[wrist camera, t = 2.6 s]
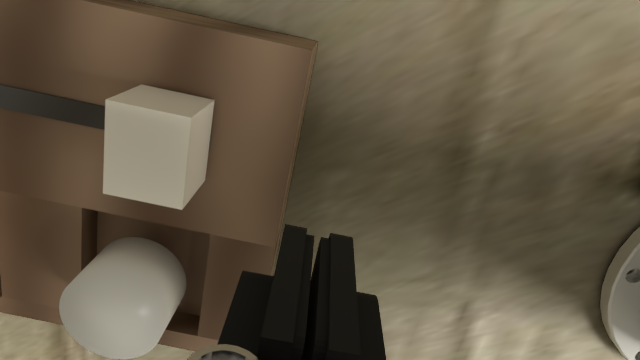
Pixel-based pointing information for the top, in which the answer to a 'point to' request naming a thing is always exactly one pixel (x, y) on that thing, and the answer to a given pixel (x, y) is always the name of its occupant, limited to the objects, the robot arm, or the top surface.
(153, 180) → the slider knob
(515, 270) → the top surface
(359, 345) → the robot arm
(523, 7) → the top surface
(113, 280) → the grey button
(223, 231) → the control panel
